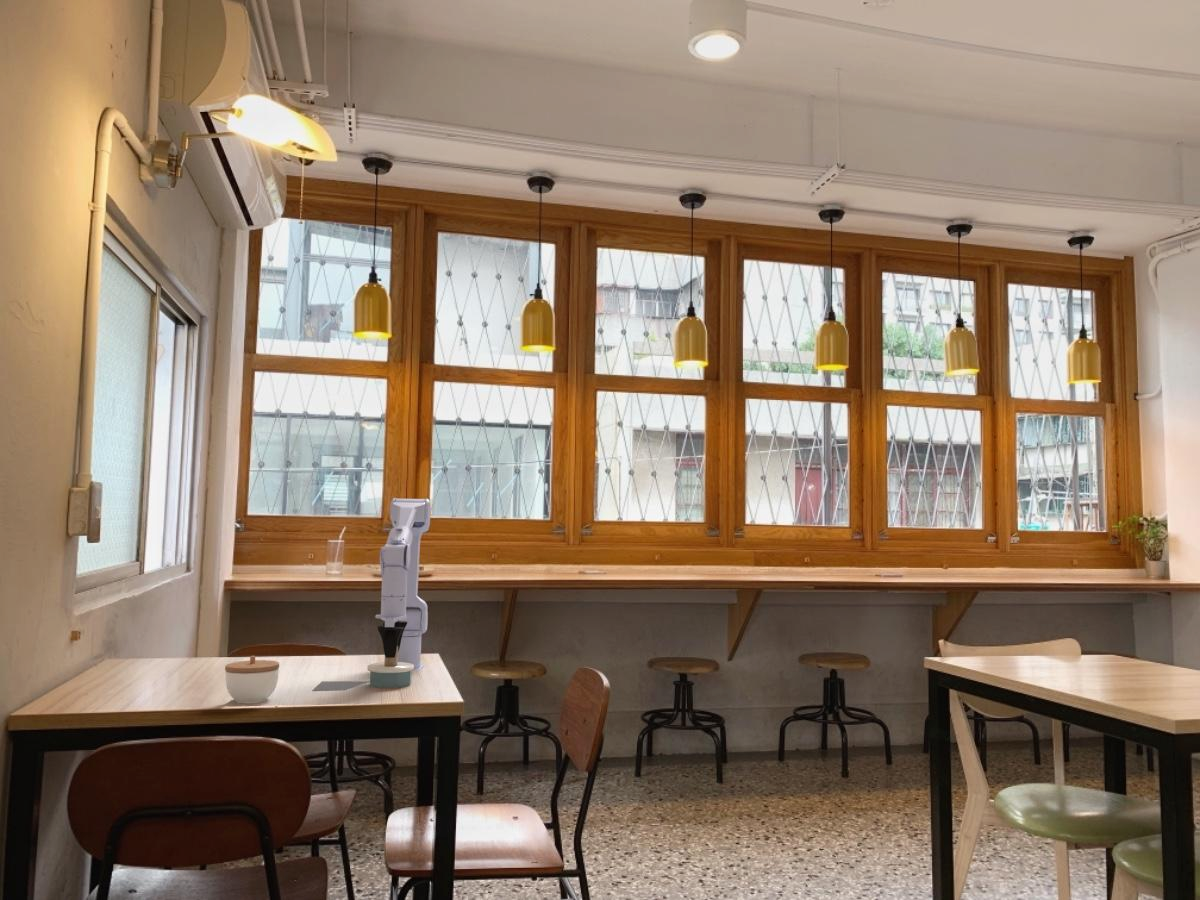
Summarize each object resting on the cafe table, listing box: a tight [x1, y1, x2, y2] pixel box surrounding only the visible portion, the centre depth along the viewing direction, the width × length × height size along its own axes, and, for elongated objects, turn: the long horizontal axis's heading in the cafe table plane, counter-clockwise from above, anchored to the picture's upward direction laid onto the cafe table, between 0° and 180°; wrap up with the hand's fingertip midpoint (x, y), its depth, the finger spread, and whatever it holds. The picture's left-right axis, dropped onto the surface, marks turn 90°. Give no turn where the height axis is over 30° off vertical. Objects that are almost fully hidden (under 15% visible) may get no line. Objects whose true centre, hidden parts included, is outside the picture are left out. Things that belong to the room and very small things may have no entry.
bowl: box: [369, 670, 413, 689], centre depth 212 cm, size 9×9×4 cm
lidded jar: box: [224, 655, 280, 704], centre depth 193 cm, size 11×11×9 cm
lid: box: [367, 646, 414, 673], centre depth 212 cm, size 10×10×5 cm
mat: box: [311, 680, 370, 692], centre depth 209 cm, size 11×11×1 cm
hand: (391, 655), depth 212 cm, fingers open, 7 cm apart
